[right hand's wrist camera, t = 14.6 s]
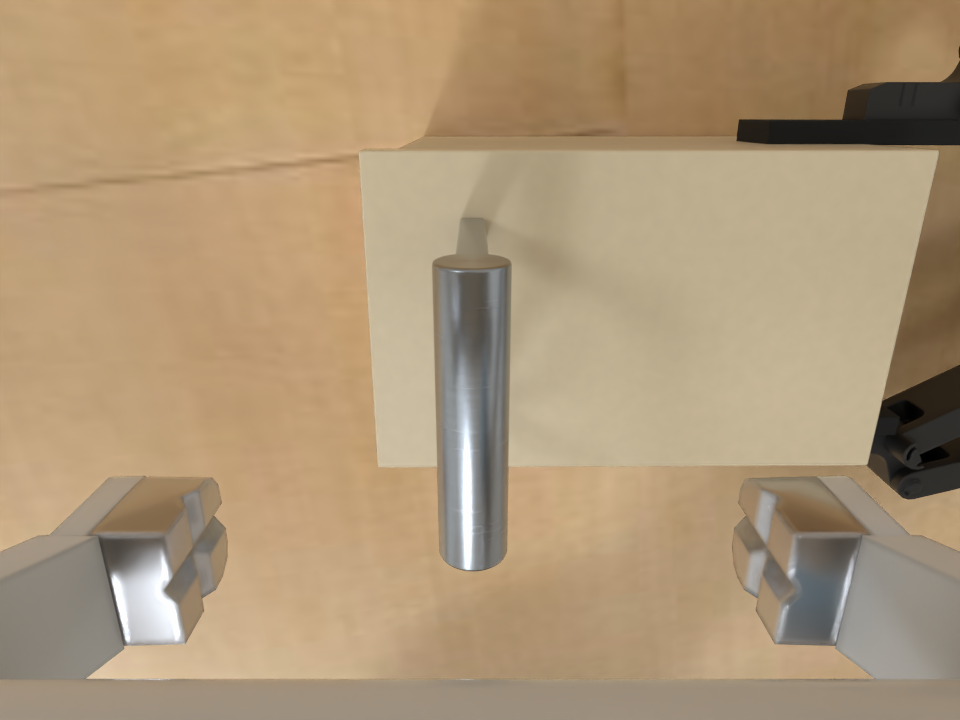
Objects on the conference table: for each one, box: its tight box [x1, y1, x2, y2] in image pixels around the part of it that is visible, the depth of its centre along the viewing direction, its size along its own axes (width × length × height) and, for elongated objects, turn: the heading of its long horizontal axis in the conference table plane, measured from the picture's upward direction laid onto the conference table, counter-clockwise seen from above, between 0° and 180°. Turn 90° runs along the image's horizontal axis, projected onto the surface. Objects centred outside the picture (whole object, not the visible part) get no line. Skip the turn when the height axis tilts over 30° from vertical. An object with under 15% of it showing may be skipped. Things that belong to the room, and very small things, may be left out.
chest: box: [399, 136, 907, 149], centre depth 26 cm, size 15×10×11 cm, turn 90°
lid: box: [359, 148, 939, 571], centre depth 17 cm, size 16×10×8 cm, turn 90°
